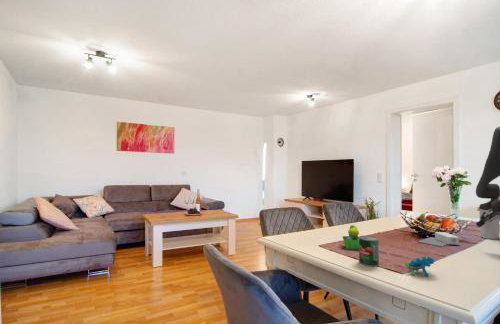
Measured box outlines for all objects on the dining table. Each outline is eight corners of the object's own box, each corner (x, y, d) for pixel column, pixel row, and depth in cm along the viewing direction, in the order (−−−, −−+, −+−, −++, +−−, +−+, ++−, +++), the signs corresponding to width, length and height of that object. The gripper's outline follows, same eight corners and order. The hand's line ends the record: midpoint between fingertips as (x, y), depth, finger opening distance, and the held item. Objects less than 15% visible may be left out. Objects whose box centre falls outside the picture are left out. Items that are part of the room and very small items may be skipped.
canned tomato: (379, 262, 121) (379, 237, 121) (377, 267, 114) (377, 241, 114) (360, 259, 125) (360, 234, 125) (357, 264, 118) (357, 238, 118)
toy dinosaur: (427, 265, 112) (436, 253, 106) (435, 279, 108) (445, 268, 101) (400, 268, 113) (407, 256, 106) (407, 282, 109) (415, 271, 102)
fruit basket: (343, 249, 140) (343, 227, 140) (342, 244, 149) (342, 223, 149) (367, 251, 137) (367, 228, 138) (364, 246, 146) (364, 225, 146)
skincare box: (459, 245, 149) (445, 239, 161) (459, 237, 149) (445, 232, 161) (447, 244, 150) (434, 238, 162) (447, 236, 150) (434, 231, 162)
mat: (431, 237, 166) (431, 237, 166) (454, 242, 156) (454, 241, 157) (417, 241, 156) (417, 241, 156) (441, 247, 146) (441, 246, 146)
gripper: (505, 197, 137) (478, 220, 147) (492, 196, 131) (464, 220, 141) (520, 209, 132) (491, 231, 141) (507, 208, 126) (477, 231, 135)
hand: (478, 225), depth 141 cm, fingers closed
